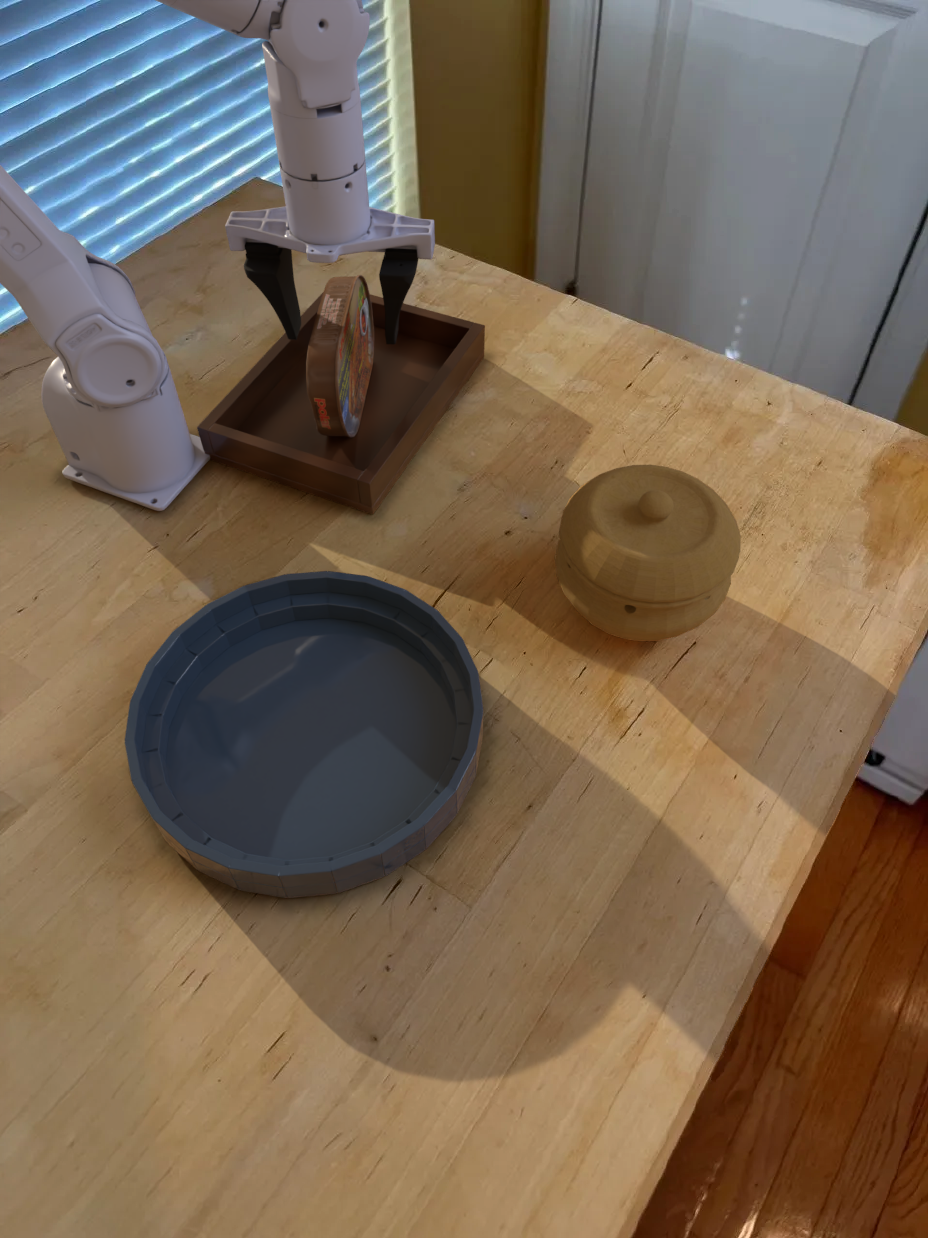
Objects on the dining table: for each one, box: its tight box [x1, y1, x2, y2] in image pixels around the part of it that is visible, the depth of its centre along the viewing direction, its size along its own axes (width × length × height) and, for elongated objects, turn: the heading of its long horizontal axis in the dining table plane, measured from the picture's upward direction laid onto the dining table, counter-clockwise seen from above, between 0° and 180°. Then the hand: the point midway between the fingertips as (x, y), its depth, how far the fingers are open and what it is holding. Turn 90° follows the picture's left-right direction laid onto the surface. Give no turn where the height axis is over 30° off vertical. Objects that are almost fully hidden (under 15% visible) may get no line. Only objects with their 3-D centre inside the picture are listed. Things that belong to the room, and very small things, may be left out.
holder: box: [196, 292, 486, 515], centre depth 77 cm, size 15×21×3 cm
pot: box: [554, 464, 742, 642], centre depth 62 cm, size 12×12×10 cm
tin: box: [306, 274, 374, 438], centre depth 75 cm, size 15×3×8 cm, turn 175°
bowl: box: [124, 570, 484, 899], centre depth 58 cm, size 21×21×4 cm
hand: (343, 334), depth 73 cm, fingers open, 7 cm apart
